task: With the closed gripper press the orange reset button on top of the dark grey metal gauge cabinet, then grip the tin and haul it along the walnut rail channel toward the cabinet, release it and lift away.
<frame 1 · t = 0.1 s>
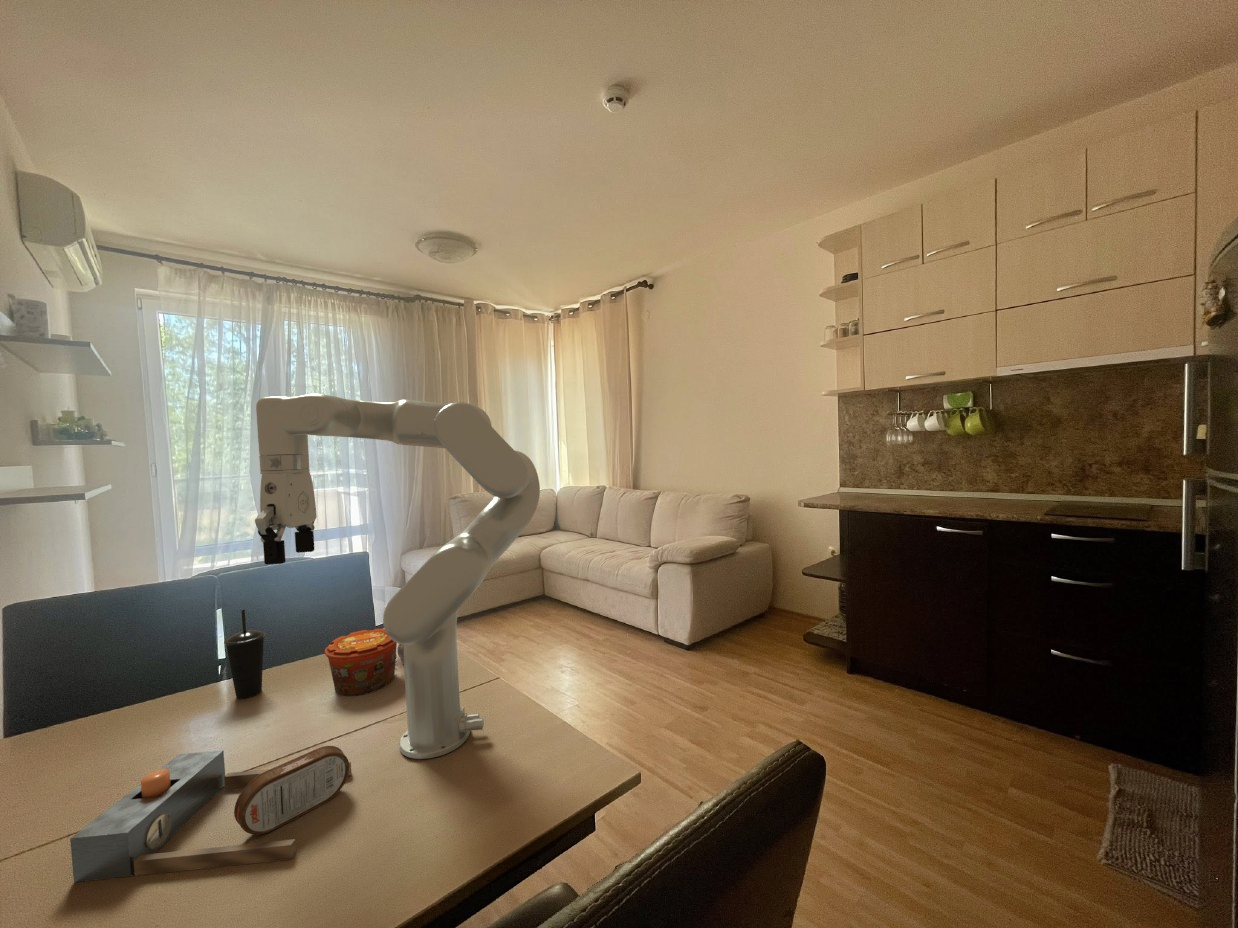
hand: (291, 557, 91), 37 cm above the table, fingers open, 9 cm apart
tin: (298, 815, 76), on the table
reset button: (156, 785, 74), point 6 cm above the table, slide at 0.0 cm
food container: (365, 683, 120), on the table
gauge cabinet: (159, 827, 75), on the table
drinking cup: (249, 694, 116), on the table
rail channel: (257, 817, 76), on the table
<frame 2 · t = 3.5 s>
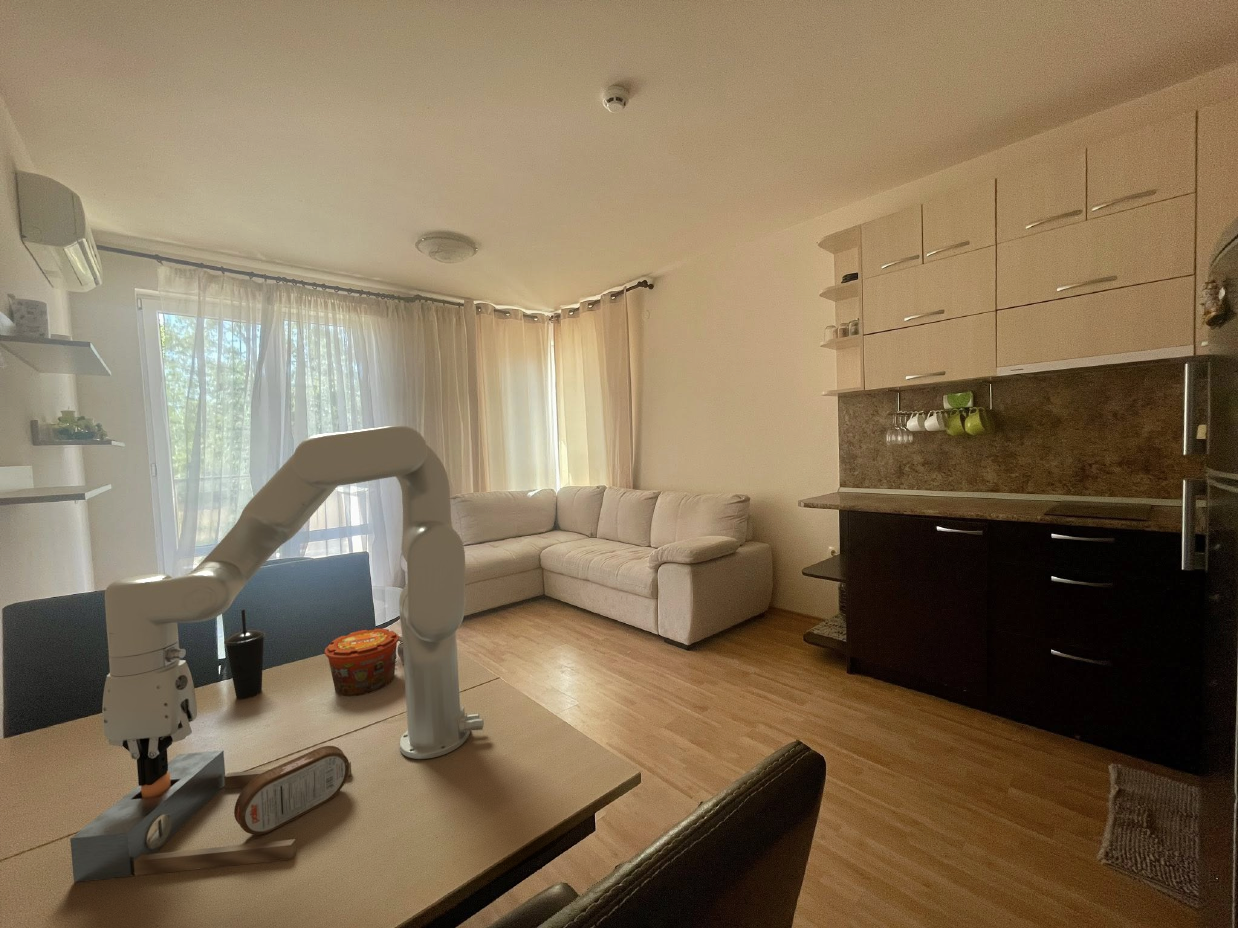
hand: (153, 778, 74), 8 cm above the table, fingers closed
reset button: (156, 788, 74), point 6 cm above the table, slide at 0.5 cm, touching gripper
everything else where it was.
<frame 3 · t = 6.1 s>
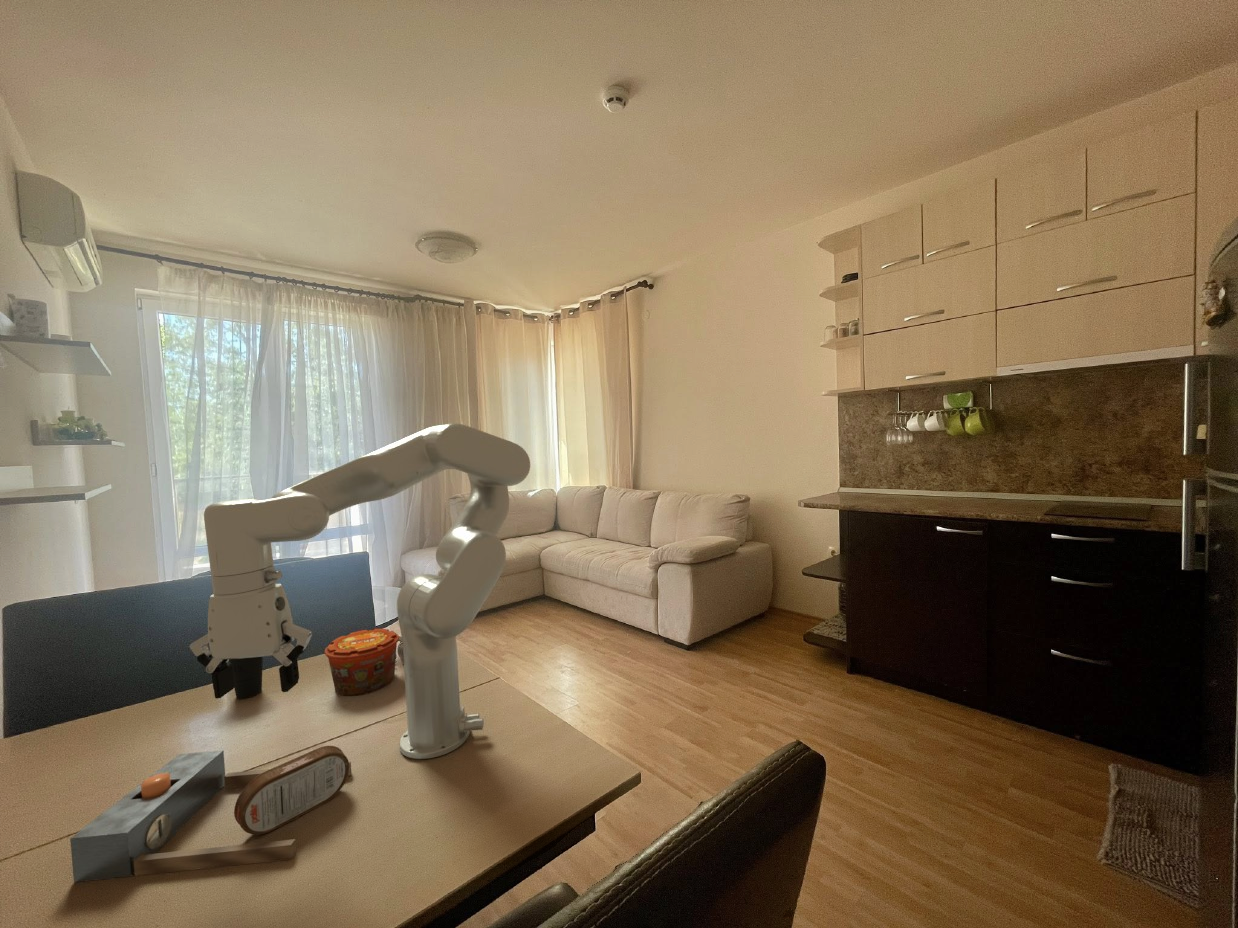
hand: (257, 690, 76), 20 cm above the table, fingers open, 9 cm apart
reset button: (156, 789, 74), point 6 cm above the table, slide at 0.6 cm
everything else where it was.
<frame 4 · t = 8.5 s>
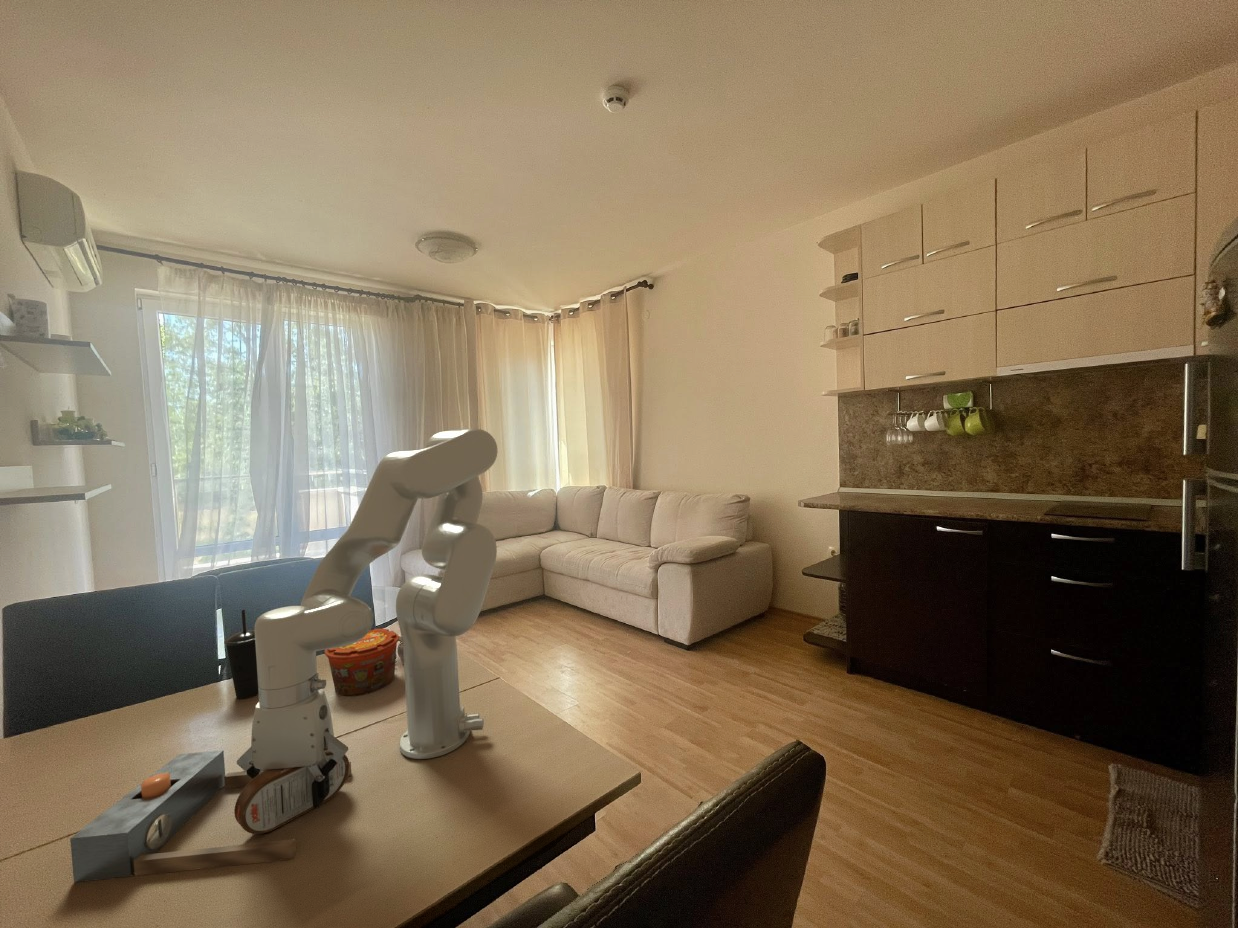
hand: (296, 802, 76), 2 cm above the table, fingers closed on tin, 6 cm apart
tin: (298, 814, 76), on the table, touching gripper
everything else where it was.
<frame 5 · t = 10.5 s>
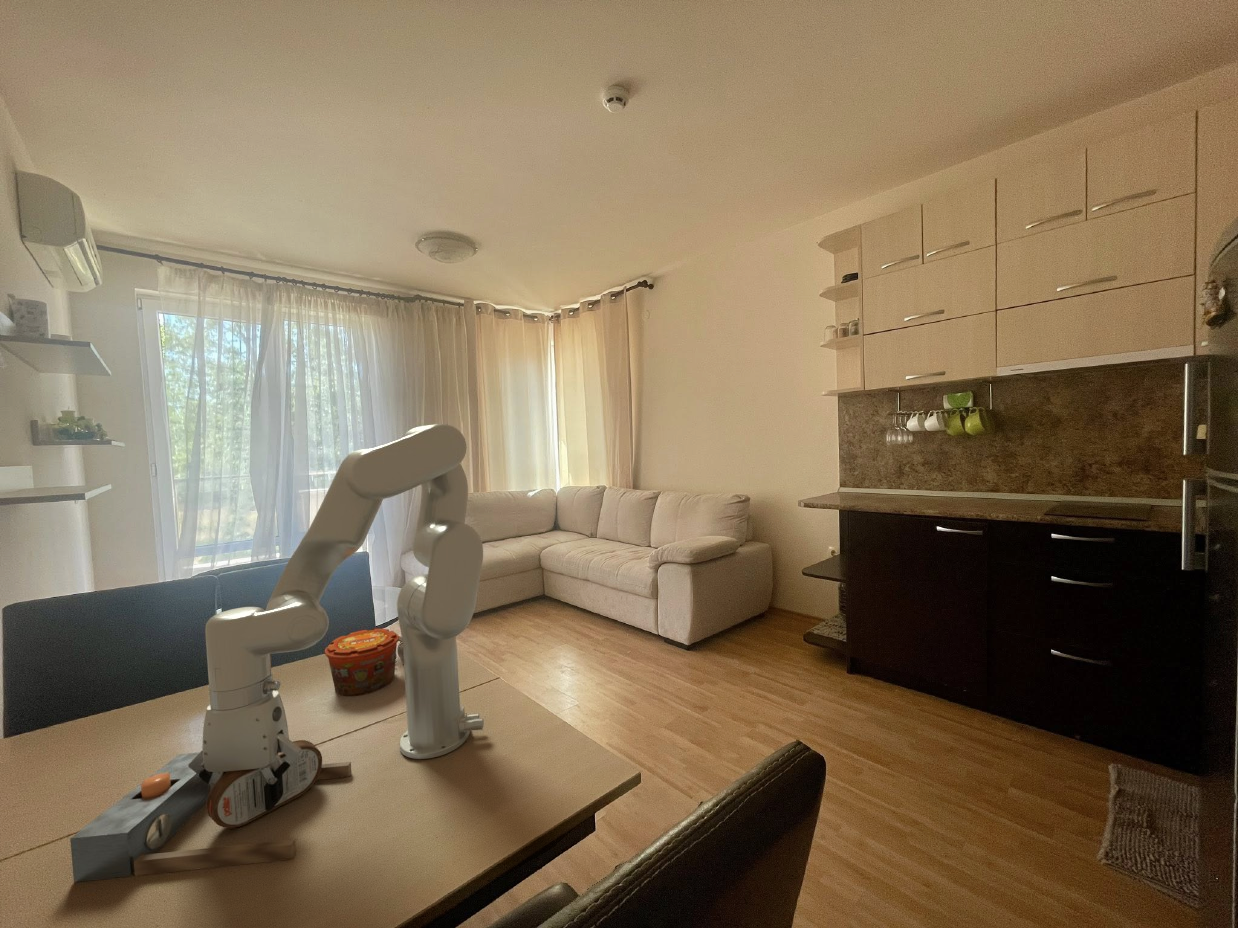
hand: (249, 805, 76), 2 cm above the table, fingers open, 6 cm apart
tin: (271, 809, 78), on the table
everything else where it was.
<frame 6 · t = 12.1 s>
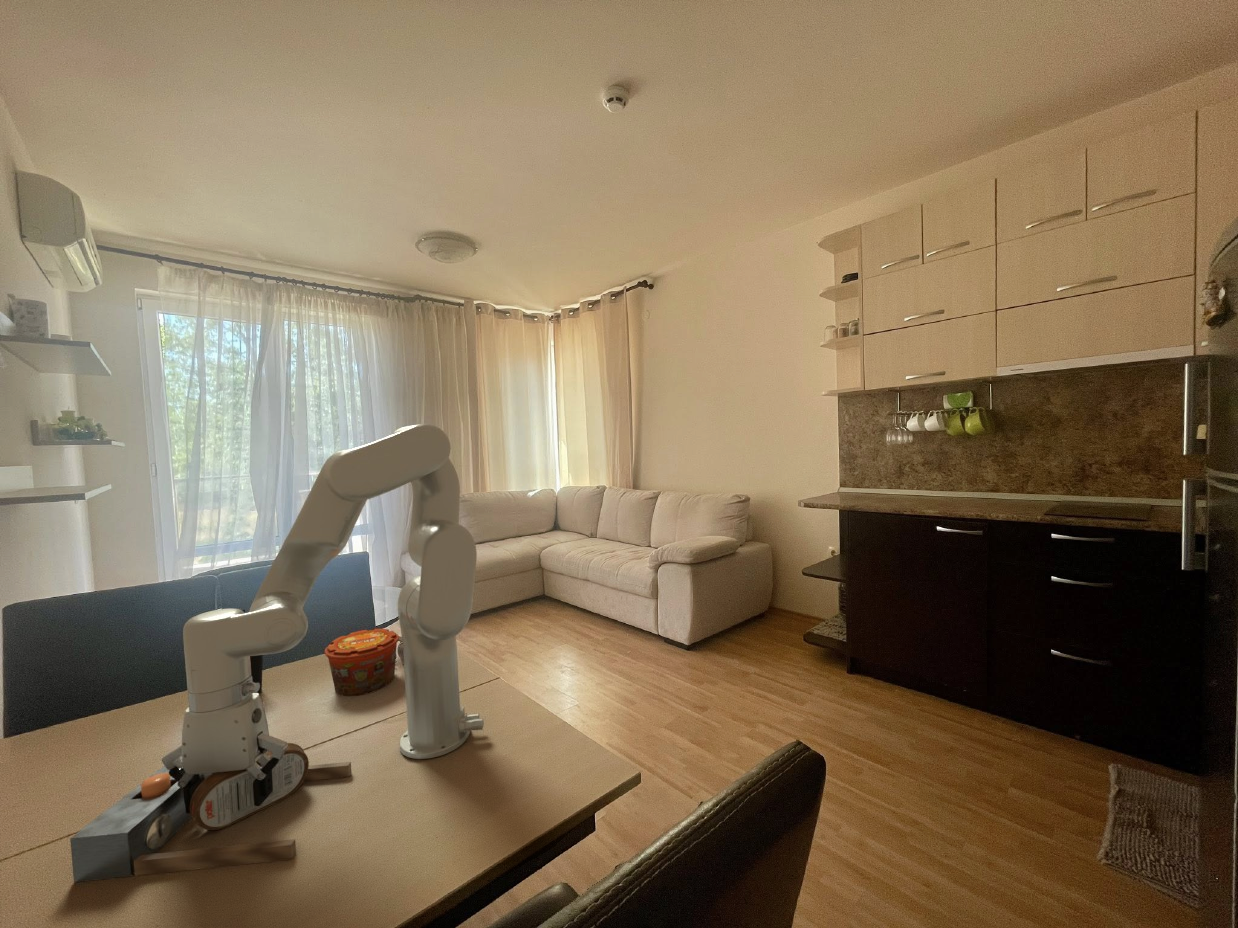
hand: (229, 803, 75), 3 cm above the table, fingers open, 9 cm apart
tin: (255, 811, 78), on the table
everything else where it was.
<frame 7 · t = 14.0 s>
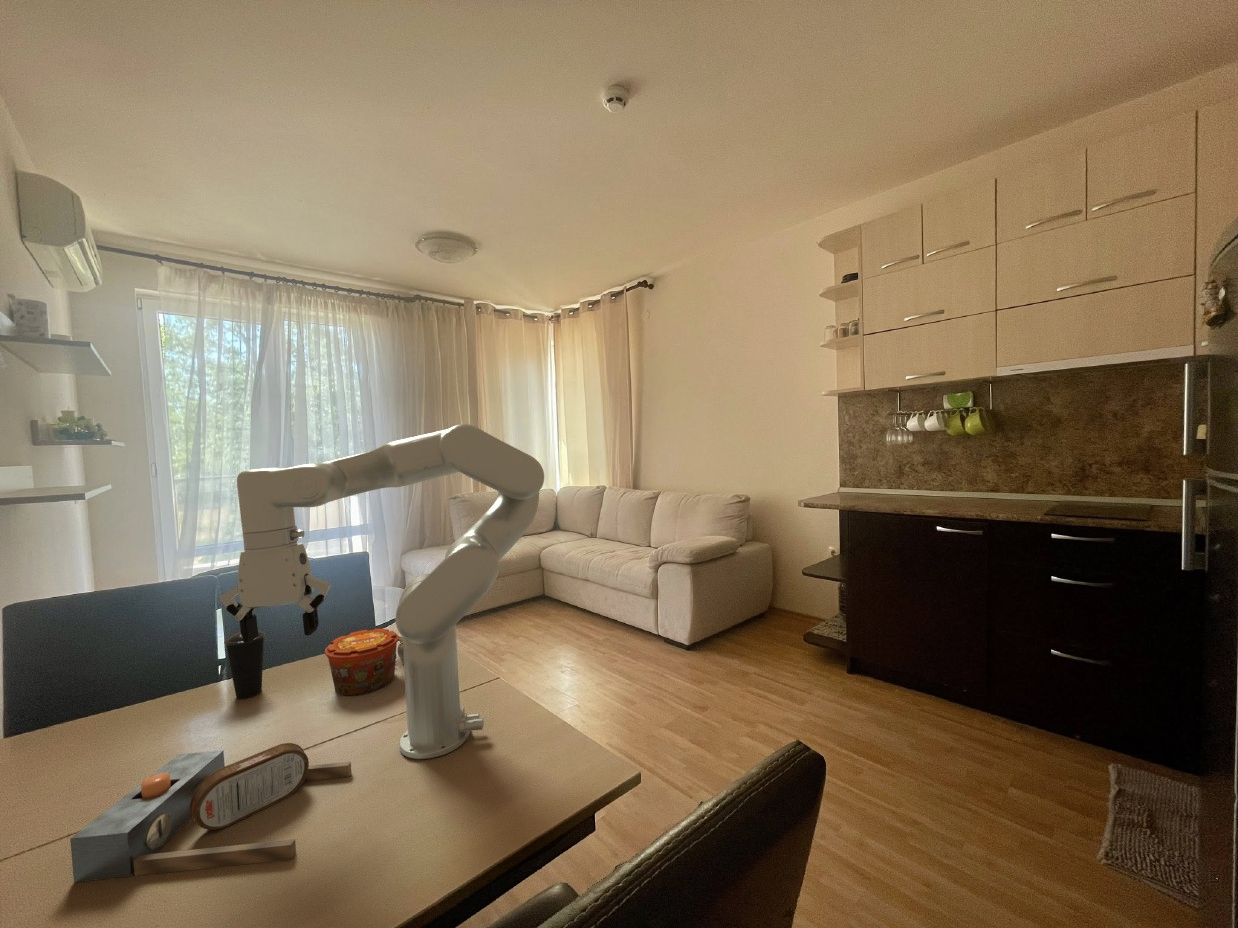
hand: (281, 636, 86), 24 cm above the table, fingers open, 9 cm apart
nothing on the table moved.
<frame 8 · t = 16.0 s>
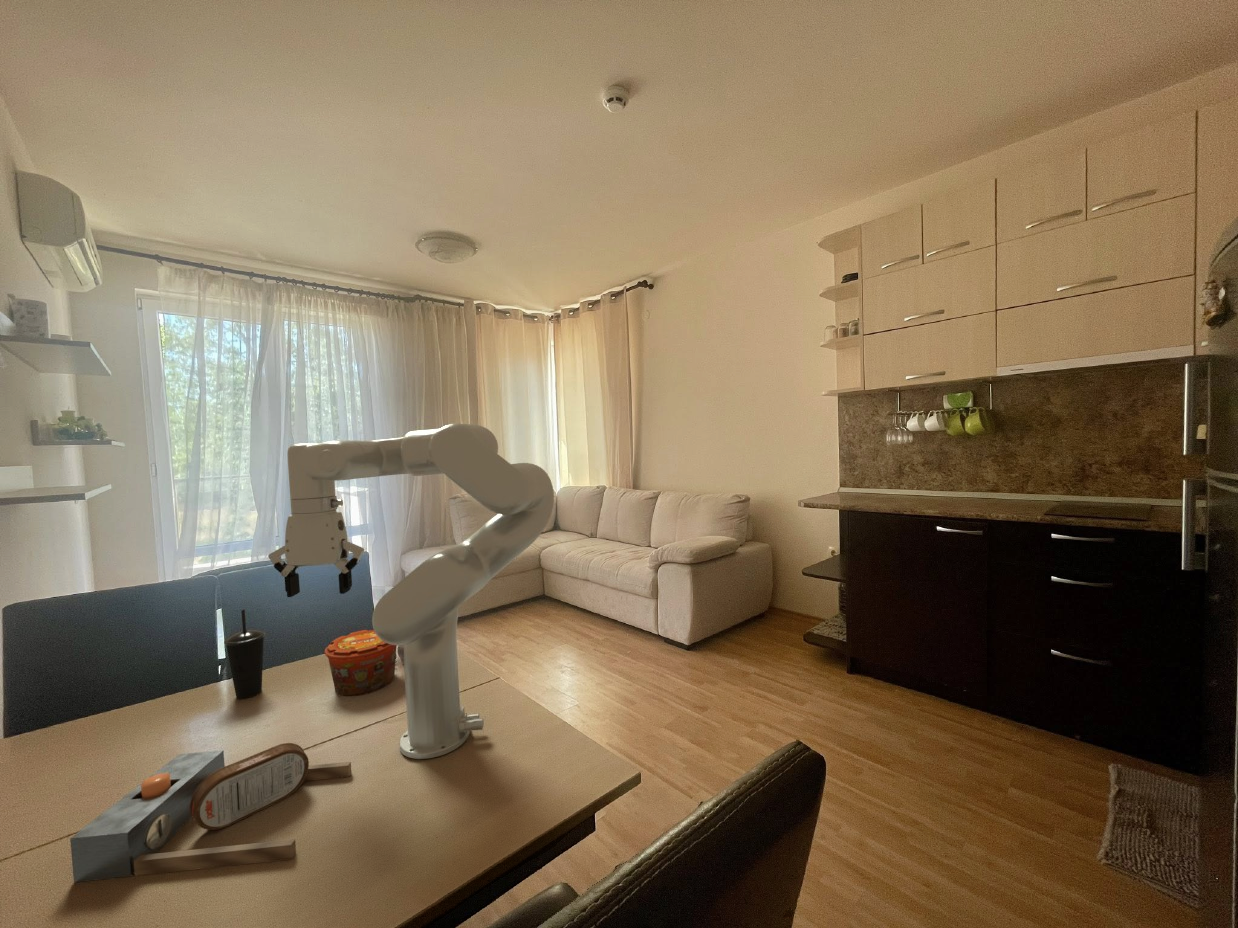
hand: (319, 593, 97), 28 cm above the table, fingers open, 9 cm apart
nothing on the table moved.
at the end: reset button slide at 0.6 cm; tin inside the target area (3.6 cm from its centre), on the table; tin tilted 0° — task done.
